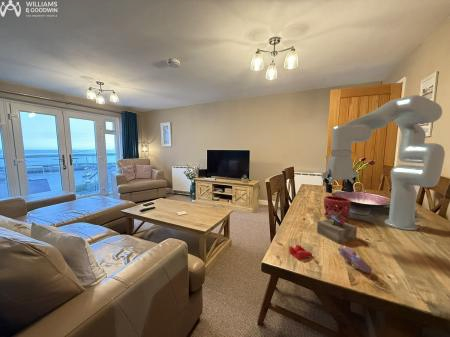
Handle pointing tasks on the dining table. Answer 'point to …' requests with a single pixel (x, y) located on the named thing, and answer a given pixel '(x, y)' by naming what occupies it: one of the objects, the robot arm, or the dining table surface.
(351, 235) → the walnut block
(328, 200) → the plant pot
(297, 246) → the bracket
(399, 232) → the dining table surface
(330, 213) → the geometric puzzle
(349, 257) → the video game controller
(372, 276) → the dining table surface
